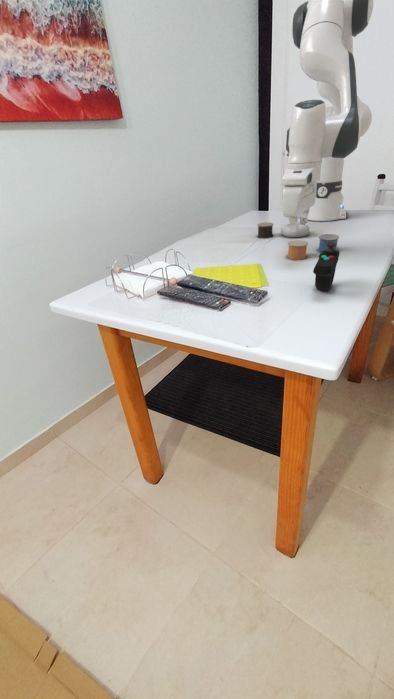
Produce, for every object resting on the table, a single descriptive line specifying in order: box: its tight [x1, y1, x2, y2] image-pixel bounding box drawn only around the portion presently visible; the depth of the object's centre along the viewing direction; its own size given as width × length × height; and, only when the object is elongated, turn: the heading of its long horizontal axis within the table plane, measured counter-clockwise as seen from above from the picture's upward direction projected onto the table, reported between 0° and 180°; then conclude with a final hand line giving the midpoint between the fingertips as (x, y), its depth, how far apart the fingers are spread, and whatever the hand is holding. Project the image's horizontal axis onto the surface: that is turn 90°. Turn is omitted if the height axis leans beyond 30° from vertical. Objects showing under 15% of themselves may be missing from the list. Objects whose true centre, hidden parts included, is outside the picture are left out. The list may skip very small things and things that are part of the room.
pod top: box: [318, 233, 340, 253], centre depth 104 cm, size 6×6×4 cm
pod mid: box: [287, 239, 309, 261], centre depth 101 cm, size 6×6×4 cm
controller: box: [312, 243, 341, 291], centre depth 77 cm, size 4×12×10 cm, turn 153°
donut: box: [280, 222, 310, 238], centre depth 123 cm, size 10×4×10 cm
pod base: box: [257, 221, 275, 239], centre depth 124 cm, size 6×6×4 cm
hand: (298, 227), depth 98 cm, fingers open, 8 cm apart
